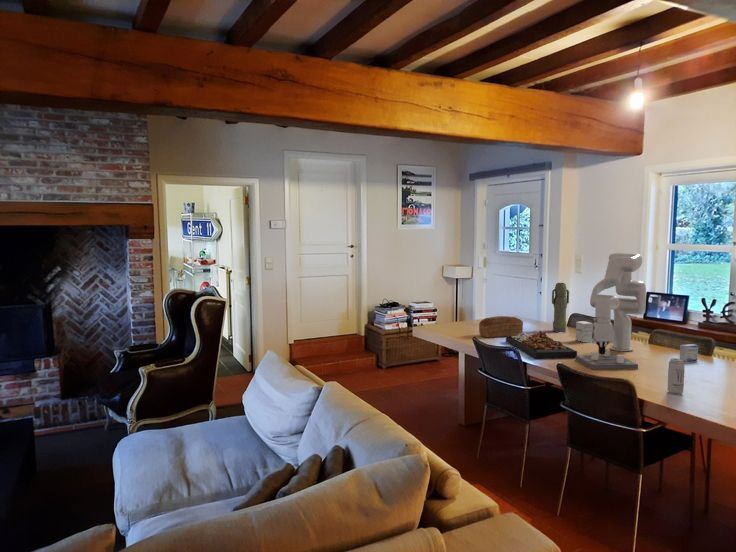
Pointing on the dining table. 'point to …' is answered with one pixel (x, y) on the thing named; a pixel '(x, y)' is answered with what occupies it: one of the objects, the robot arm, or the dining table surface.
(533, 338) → the food platter
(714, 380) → the dining table surface
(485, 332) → the bread
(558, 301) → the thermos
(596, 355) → the handle middle
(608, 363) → the switch board
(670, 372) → the energy drink can
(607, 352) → the handle
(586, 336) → the white ridged canister
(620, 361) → the handle
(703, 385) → the dining table surface
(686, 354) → the medicine box
